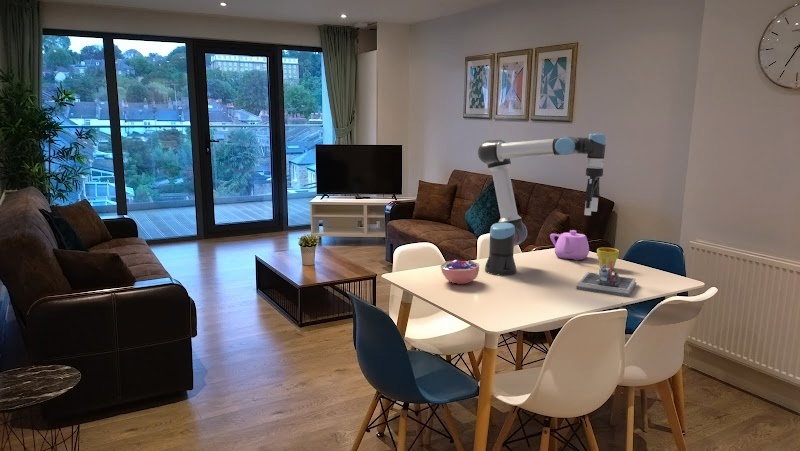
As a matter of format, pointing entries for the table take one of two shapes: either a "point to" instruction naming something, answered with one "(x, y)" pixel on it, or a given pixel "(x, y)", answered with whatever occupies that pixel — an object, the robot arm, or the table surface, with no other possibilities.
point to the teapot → (571, 245)
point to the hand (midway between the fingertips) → (590, 213)
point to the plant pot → (607, 256)
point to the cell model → (460, 271)
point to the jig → (597, 286)
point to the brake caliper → (608, 276)
